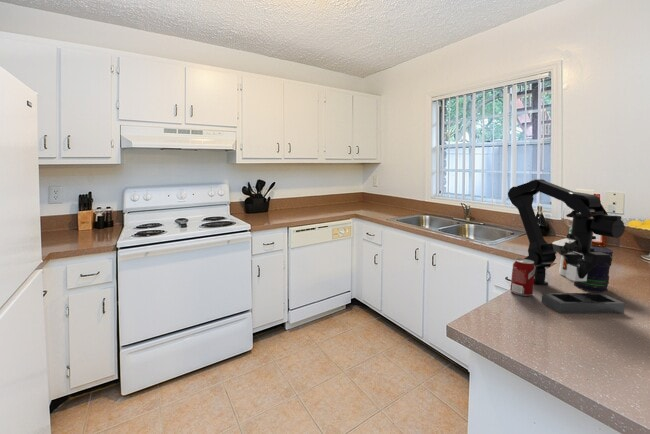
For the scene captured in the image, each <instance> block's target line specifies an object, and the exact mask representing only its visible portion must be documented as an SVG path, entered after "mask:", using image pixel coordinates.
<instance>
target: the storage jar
mask: <svg viewBox="0 0 650 434" xmlns="http://www.w3.org/2000/svg"><path fill="white" fill-rule="evenodd" d="M591 248H594V251H590V252H602V253H605V254H609V255H610V256H611V257H612V258H613V254H614V250H613V249H611V248H607V247H603V246H597V245H596V246H595V245H591ZM582 257H583V256H580V258H579V259H582ZM578 264H580V263H579V262H578ZM611 266H612V263H611V264H596V265H595V266H594V267H593V268H592V269H591V270H590V271H589V272H588V274H587V281H573V286H574V287H576V288H578V289H581V290H585V291H588V292H591V293H606V292H607V291H608V287H609V282H610V276H609V274H610V269H611Z"/></svg>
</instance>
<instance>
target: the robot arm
mask: <svg viewBox="0 0 650 434" xmlns="http://www.w3.org/2000/svg"><path fill="white" fill-rule="evenodd" d="M539 193H542V194H544V195H546V196H549V197H551V198H553V199H556V200H557V201H560V202H561V201H562V202H563V203H564V204H565V205H566V206H567V207H568V208H569V209H571V210H572V211H570V212H569V213H568V214H566V217H567V218H572V223H571V224H572V225H571V228H572V230H571V233H569V232H568V233H567V234H566V237H565V238H561V239H559V240H555V241H553V242H549V243H548V242H547V241H546V240H545V238H544V236H543V233H542V230H541V227H540V224H539V222H538V218H537V216H536V213H535V211H534V207H533V202H534V196H535V195H536V194H539ZM507 197H508V199H509V200H510V203H511V204H512V206H514V207H515V208H517V211H518V213H519V217H520V219H521V223H522V224H523V227H524V231H525V234H526V236H527V239H528V243H529V245H528V247H527V252H528V255H527V256H526V257H524V258H523V259H528V260H532V261H534V265H535V267H536V270H535V278H534V285H548V284H549V282H548V281H546V275H547V273H546V270H547V268H551V266H552V264H553V263H554V262H555V261H556V259H557V254H559V255H560V256H561V255H562V256H563V257H564V258H565V260H566V263H567V264H578V262H579V263H580V270H579V278H580V279H583V278H584V277H585V276H586V275H587V274H588V272H589V271H590V270H591V269H592V268H593V267H594V266H595V265H596V264H611V265H612V261H613V256H612V257H611V256H610V255H609V254H605V253H602V252H590V251H594V248H591V246H593V245H592V244H593V240H597V236H596V235H598V236H603V237H608V238H615V239H619V238H621V237H622V236H623V234H624V232H625V231H626V230H625V229H626V225H625V222H624V220H622V215H609V214H608V212H607V211H606V209H605V207H604V206H603V204H602V203H601V202H602V201H601V198H600V196H597V195H596V194H591V193H586V192H585V193H584V192H579V191H573V190H570V189H568V188H566V187H565V188H564V187H563V186H559V185H557V184H555V183H551V182H549V181H547V180H545V179H542V178H541V179H539V178H537V179H532V180H530V181H527V182H525V183H522V184H520V185H517V186H512V187H511V188H509V190H508V191H507ZM580 256H583V257H582V259H579V258H580Z"/></svg>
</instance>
